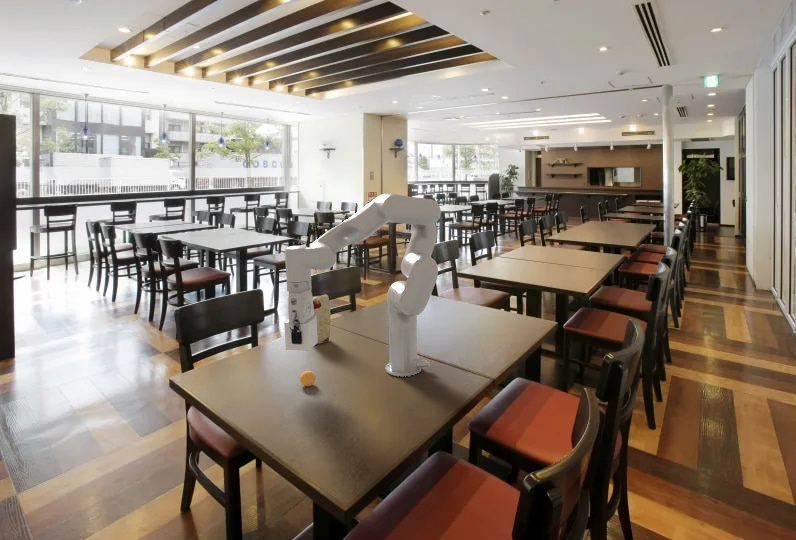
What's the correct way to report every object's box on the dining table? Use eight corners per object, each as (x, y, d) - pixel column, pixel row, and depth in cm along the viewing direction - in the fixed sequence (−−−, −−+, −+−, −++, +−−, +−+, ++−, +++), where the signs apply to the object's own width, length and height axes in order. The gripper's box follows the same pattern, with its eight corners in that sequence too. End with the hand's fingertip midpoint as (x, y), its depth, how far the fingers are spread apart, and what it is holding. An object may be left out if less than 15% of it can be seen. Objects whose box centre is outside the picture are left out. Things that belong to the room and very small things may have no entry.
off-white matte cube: (317, 342, 150) (316, 316, 148) (309, 350, 142) (307, 323, 140) (295, 341, 151) (294, 315, 149) (285, 349, 144) (284, 322, 142)
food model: (317, 347, 182) (315, 298, 178) (306, 343, 187) (304, 296, 183) (335, 340, 190) (333, 294, 186) (324, 337, 194) (322, 291, 190)
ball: (316, 367, 150) (302, 369, 151) (310, 373, 145) (295, 375, 146) (319, 381, 150) (305, 383, 151) (313, 388, 146) (299, 389, 147)
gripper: (300, 292, 134) (303, 349, 137) (320, 279, 150) (322, 330, 154) (275, 291, 135) (279, 348, 138) (298, 279, 152) (301, 329, 155)
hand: (302, 338), depth 146 cm, fingers closed on off-white matte cube, 7 cm apart
